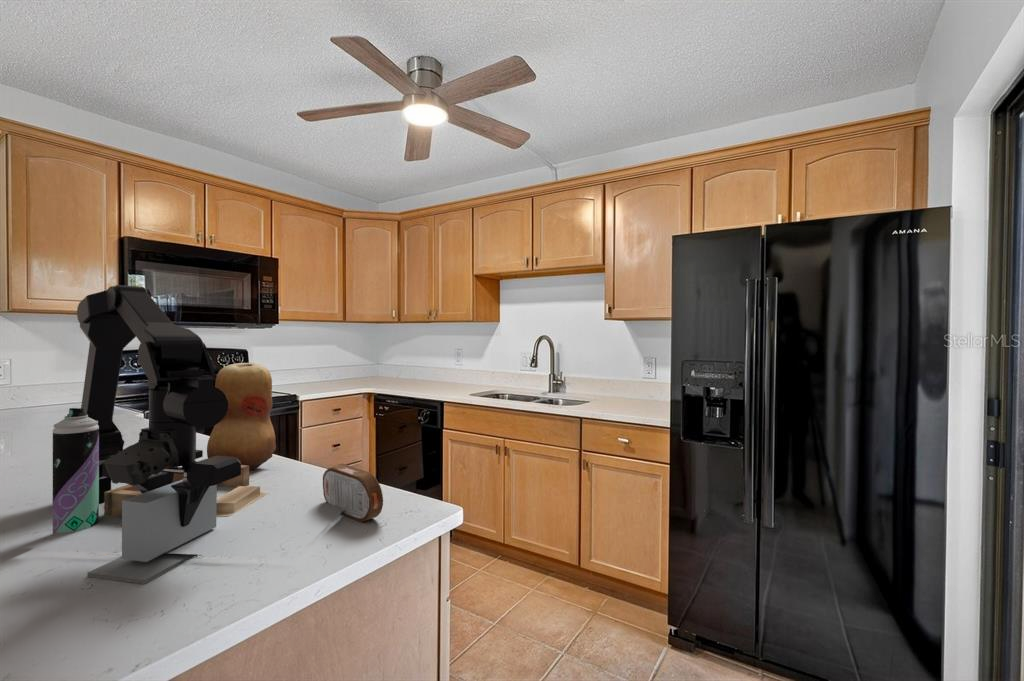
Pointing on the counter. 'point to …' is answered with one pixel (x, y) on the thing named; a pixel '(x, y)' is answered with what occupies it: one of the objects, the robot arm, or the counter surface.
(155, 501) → the gray rectangular block
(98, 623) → the counter surface
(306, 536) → the counter surface
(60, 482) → the spray can
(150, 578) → the mat
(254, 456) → the butternut squash
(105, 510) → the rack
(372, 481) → the tin
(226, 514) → the offcut lower
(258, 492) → the offcut upper
